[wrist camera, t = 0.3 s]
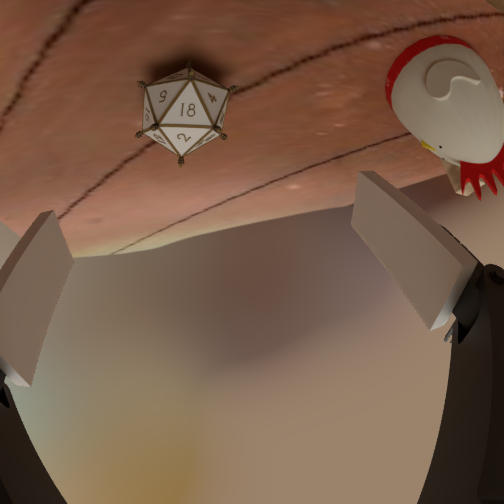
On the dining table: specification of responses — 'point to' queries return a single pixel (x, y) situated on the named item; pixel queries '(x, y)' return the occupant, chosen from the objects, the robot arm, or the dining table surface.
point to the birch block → (458, 178)
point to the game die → (184, 111)
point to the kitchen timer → (451, 106)
